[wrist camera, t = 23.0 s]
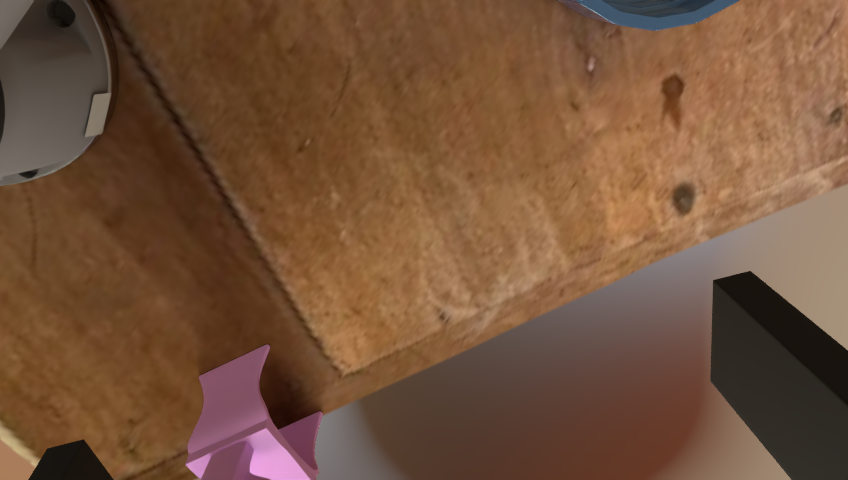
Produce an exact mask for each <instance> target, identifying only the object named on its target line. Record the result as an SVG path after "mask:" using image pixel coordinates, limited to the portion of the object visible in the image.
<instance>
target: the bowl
mask: <svg viewBox="0 0 848 480" xmlns="http://www.w3.org/2000/svg"><path fill="white" fill-rule="evenodd" d="M557 1H559V2H561V3H563V4H564V5H566V6H568V7H569V8H571V9H573V10H574V11H576V12H578V13H579V14H581V15H583V16H585V17H588V18H592V19H596V20H600V21H604V22H608V23H611V24H616V25H622V26H627V27H633V28H639V29H645V30H651V31H654V30H655V31H656V30H662V29H667V28H673V27H678V26H684V25H689V24H695V23H698V22H700V21H702V20H704V19H705V18H707V17H709V16H711V15H713V14H715V13H717V12H719V11H721V10H723V9H725V8H727V7H728V6H730V5H732V4H734V3H736V2H737V1H739V0H557Z"/></svg>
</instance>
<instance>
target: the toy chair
mask: <svg viewBox="0 0 848 480" xmlns="http://www.w3.org/2000/svg"><path fill="white" fill-rule="evenodd" d="M269 350H270V346H269V345H268V344H266V345H264V346H262V347H260V348H257V349H255V350H253V351H251V352H249V353H247V354H245V355H243V356H240V357H238V358H236V359H234V360H232V361H230V362H228V363H226V364H223V365H221V366H219V367H217V368H215V369H213V370H211V371H209V372H206V373H204V374H202V375H200V376H199V380H200V383H201V386H202V389H203V395H204V406H203V409H202V413H201V416H200V418H199V420H198V423H197V425H196V427H195V429H194V431H193V433H192V435H191V437H190V440H189V443H188V453H189V455H188V458H187V461H186V464H185V465H186V466H187V467H188V468H189V469H190V470H191V471H192V472H193V473H194V474H195V475H196V476H197V477H199V478H200V479H201V480H316V475H318V474H319V470H318V467H317V464H316V461H315V453H314V449H315V441H316V437H317V432H318V429H319V425H320V422H321V419H322V415H323V414H322V412H321V411H319V412H317V413H314V414H312V415H310V416H308V417H306V418H303V419H301V420H299V421H297V422H294V423H292V424H290V425H288V426H285V427H283V428H281V429H279V430H278V429H277V428H276V427H275V425H274V424H273V422H272V420H271V418H270V416H269V413H268V409H267V407H266V405H265V403H264V401H263V399H262V396H261V393H260V390H259V381H260V375H261V372H262V368H263V365H264V363H265V360H266V357H267V355H268V352H269Z"/></svg>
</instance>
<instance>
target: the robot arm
mask: <svg viewBox="0 0 848 480" xmlns="http://www.w3.org/2000/svg"><path fill="white" fill-rule="evenodd" d="M117 91H118V64H117V56H116V51H115V47H114V43H113V39H112V36H111V33H110V30H109V28H108V25H107V23H106V20H105V18H104V16H103V14H102V12H101V10H100V8H99V6H98V4H97V2H96V0H0V185H8V184H17V183H22V182H26V181H30V180H34V179H37V178H39V177H43V176H46V175H48V174H51V173H53V172H55V171H58V170H59V169H61V168H63V167H65V166H67V165H68V164H69V163H71V162H72V161H74V160H75V159H77V158H78V157H79V156H81V155H82V154H84V153H85V152H86V151H87V150H88V149H89V148H90V147H91V146H93V145H94V143H95V142H96V141H97V140H98V139H99V137H100V136H101V135H102V133H103V131H104V130H105V128H106V127H107V125H108V123H109V120H110V118H111V116H112V113H113V110H114V107H115V103H116V98H117ZM711 347H712V348H711V382H712V383H713V385H714V386H715V387H716V388H717V389H718V391H719V392H720V393H721V394H722V396H723V397H724V398H725V399H726V400H727V402H728V403H729V404H730V405H731V407H732V408H733V409H734V410H735V411H736V413H737V414H738V415H739V416H740V417H741V419H742V420H743V421H744V422H745V424H746V425H747V426H748V427H749V428H750V430H751V431H752V432H753V433H754V435H755V436H756V437H757V438H758V439H759V441H760V442H761V443H762V444H763V445H764V447H765V448H766V449H767V450H768V452H769V453H770V454H771V455H772V456H773V458H774V459H775V460H776V461H777V463H779V465H780V466H781V467H782V469H783V470H784V471H785V472H786V473H787V475H788V476H789V477H790V478H791V480H848V350H846V349H845V348H844V347H843V346H842V345H840V344H839V343H838V342H837V341H835V340H834V339H833V338H832V337H831V336H829V335H828V334H827V333H826V332H824V331H823V330H822V329H821V328H819V327H818V326H817V325H816V324H815V323H813V322H812V321H811V320H810V319H809V318H807V317H806V316H805V315H804V314H802V313H801V312H800V311H799V310H797V309H796V308H795V307H794V306H792V305H791V304H790V303H789V302H787V301H786V300H785V299H784V298H783V297H782V296H780V295H779V294H778V293H777V292H775V291H774V290H773V289H772V288H771V287H769V286H768V285H767V284H766V283H764V282H763V281H762V280H761V279H760V278H758V277H757V276H756V275H755V274H753V273H752V272H751V271H749V272H744V273H740V274H736V275H732V276H729V277H725V278H720V279H716V280H714V281H713V309H712V346H711ZM29 480H113V478H112V477H111V476H110V474H109V473H108V472H107V470H106V469H105V468H104V466H103V465H102V463H101V462H100V461H99V459H98V458H97V457H96V455H95V454H94V453H93V451H92V450H91V449H90V447H89V446H88V444H87V443H86V442H85V440H80V441H76V442H72V443H68V444H64V445H60V446H56V447H52V448H48V449H47V450H46V452H45V453H44V455H43V457H42V458H41V460H40V462H39V463H38V465H37V467H36V468H35V470H34V471H33V473H32V475H31V476H30V478H29Z"/></svg>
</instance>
